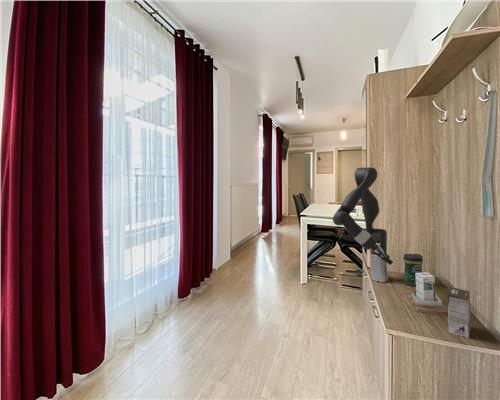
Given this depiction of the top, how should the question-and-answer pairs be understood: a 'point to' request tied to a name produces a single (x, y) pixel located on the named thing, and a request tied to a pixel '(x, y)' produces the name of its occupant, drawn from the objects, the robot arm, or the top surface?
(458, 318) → the coffee box
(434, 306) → the socket collar
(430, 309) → the carrier board
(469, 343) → the top surface
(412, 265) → the coffee jar
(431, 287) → the syrup box
